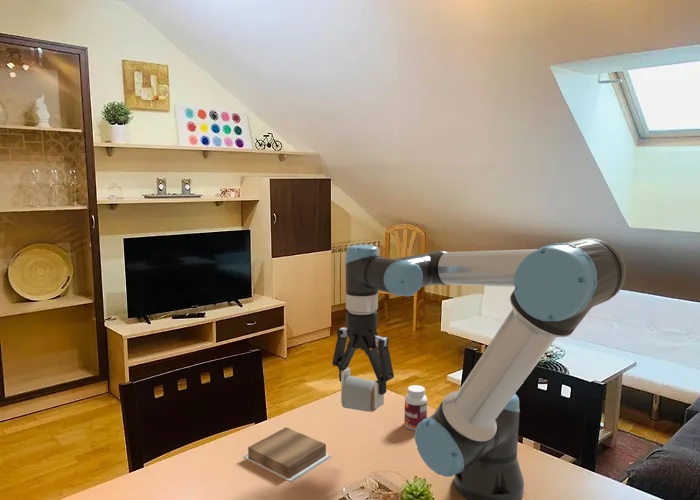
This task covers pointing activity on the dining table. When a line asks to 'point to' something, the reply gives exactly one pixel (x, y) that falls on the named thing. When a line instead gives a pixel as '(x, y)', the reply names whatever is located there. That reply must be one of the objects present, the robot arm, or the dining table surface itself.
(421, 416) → the pill bottle
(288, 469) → the walnut slab
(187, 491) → the dining table surface
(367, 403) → the ceramic mug
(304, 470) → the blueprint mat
